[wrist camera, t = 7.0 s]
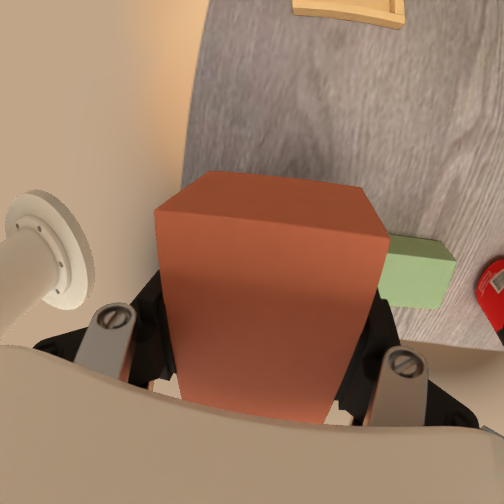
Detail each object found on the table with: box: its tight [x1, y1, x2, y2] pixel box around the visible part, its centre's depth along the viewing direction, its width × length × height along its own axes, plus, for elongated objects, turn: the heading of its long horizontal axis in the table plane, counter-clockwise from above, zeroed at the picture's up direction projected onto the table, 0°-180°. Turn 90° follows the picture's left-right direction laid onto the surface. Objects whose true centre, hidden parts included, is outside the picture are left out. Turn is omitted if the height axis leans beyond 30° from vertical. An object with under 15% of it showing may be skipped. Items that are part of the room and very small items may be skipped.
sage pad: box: [378, 234, 457, 309], centre depth 24 cm, size 8×5×4 cm, turn 88°
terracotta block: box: [154, 171, 391, 424], centre depth 9 cm, size 8×5×4 cm, turn 177°
